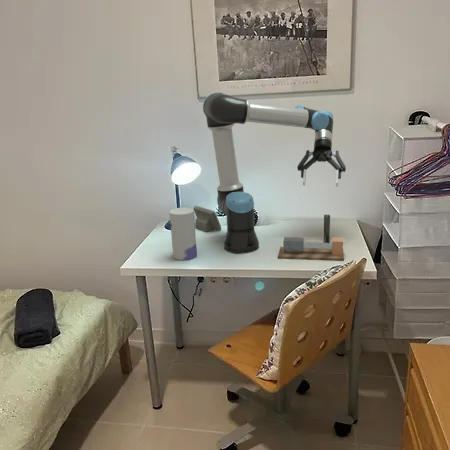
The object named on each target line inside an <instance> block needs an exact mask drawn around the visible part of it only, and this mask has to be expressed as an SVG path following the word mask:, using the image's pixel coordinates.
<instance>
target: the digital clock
mask: <svg viewBox="0 0 450 450" xmlns="http://www.w3.org/2000/svg"><path fill="white" fill-rule="evenodd" d="M193 209H194V215H195V217H196V218H195V230H196V229H197V230H198V231H202V232H205V233H209V232H213V231H218V232H219V231H220V232H221V231H222V225H221V223H220V220H219V217H218V215H217V212H216V211H215V210H212V209H209V208H206V207H203V206H199V205H195V206H193Z"/></svg>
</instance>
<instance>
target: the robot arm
mask: <svg viewBox="0 0 450 450" xmlns="http://www.w3.org/2000/svg"><path fill="white" fill-rule="evenodd" d="M202 110H203V111H202V112H203V113H204V115H205V117H206V124H207V129H209V130H211V133H212V140H213V147H214V152H215V153H214V154H215V160H216V167H217V173H218V174H217V175H218V180H219V184H218V186H217V187H216V189H217V191H216V192H217V198H216V199H217V200H216V201H217V202H216V203H217V206H218V208H219V210H220V211H221V212H222V213H223V214H224V215H225V216H226V229H227V230H226V235H225V238H224V241H223V249H224V250H225V251H226V252H228V253H233V254H248V253H253V252H255V251H256V250H258V249H259V248H260V242H259V239H258V236H257V234H256V231H255V207H254V206H255V202H254V197H253V195H252V194H250V193H249V192H245V191H244V184H243V183H242V182H240V179H239V173H238V164H237V157H236V150H235V143H234V135H233V127H234V125H235V124H238V125H239V124H241V125H245V124H246V123H256V124H257V123H258V124H267V125H275V126H286V127H296V128H303V129H310V130H314V145H313V151H310V150H309V149H308V150H306V151H305V154H304V156H303V157H302V158H301V161H299V162H298V164H297V167H296V169H297V171H299V172H300V178H301V179H302V185H303V186H306V178H307V170H308V169H309V168H310V167H311V166H312V165H313V164H316V162H319V163H326V162H327V163H329V164H330V165H331V166H332V167H333V169H335V170H336V174H335V175H336V176H335V178H336V180H335V187H338V186H339V180H340V179H341V178H342V172H343V173H345V172H346V169H347V168H346V165H345V164H344V163H345V162H344V161H343V160H342V158H341V156H340V154H339V152H340V151H339V150H336V151H332V149H333V148H332V147H333V143H332V142H333V130H334V129H333V128H334V115H333V113H332V112H330V110H316V109H311V108H308V107H306V106H303V105H301V104H298V105H296V106H295V107H289V106H281V105H271V104H263V103H255V102H254V103H253V102H249V101H248V100H247V99H244V98H238V97H234V96H231V95H229V94H225V93H223V92H213V93H211V94H209V95H208V96H206V98H205V99H204V100H203V104H202ZM311 156H312V158H311ZM332 157H334V158H335V159H336V161H337V162H336V161H335V160H334V159H333V158H332ZM309 158H310V159H309ZM308 159H309V160H308Z"/></svg>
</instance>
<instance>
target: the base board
mask: <svg viewBox="0 0 450 450" xmlns="http://www.w3.org/2000/svg"><path fill="white" fill-rule="evenodd" d="M344 256H345V255H344V253H343V256H340V255H332V249H320V248H304V249H303V251H301V254H294V253H286V250H284V246H280V248H279V250H278V254H277V259H279V260H305V259H306V260H307V261H308V260H309V261H333V262H334V261H339V262H344V260H345V258H344Z"/></svg>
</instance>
